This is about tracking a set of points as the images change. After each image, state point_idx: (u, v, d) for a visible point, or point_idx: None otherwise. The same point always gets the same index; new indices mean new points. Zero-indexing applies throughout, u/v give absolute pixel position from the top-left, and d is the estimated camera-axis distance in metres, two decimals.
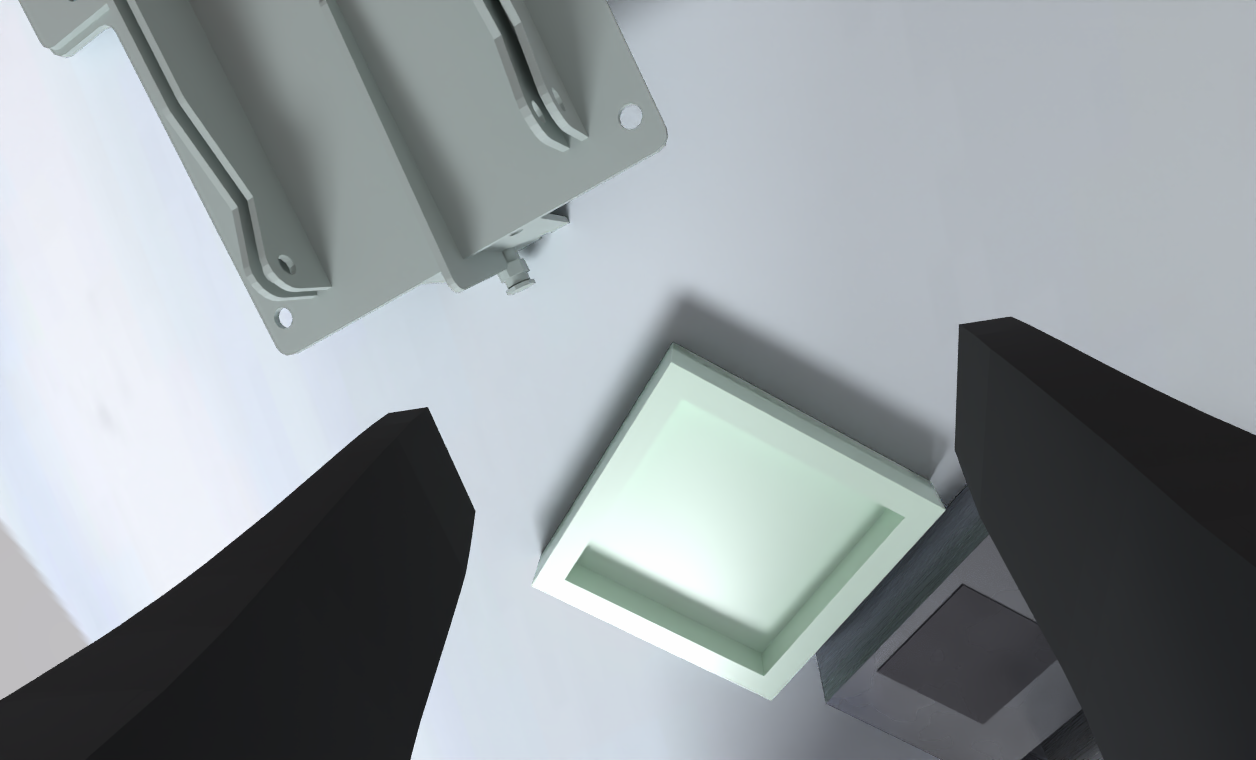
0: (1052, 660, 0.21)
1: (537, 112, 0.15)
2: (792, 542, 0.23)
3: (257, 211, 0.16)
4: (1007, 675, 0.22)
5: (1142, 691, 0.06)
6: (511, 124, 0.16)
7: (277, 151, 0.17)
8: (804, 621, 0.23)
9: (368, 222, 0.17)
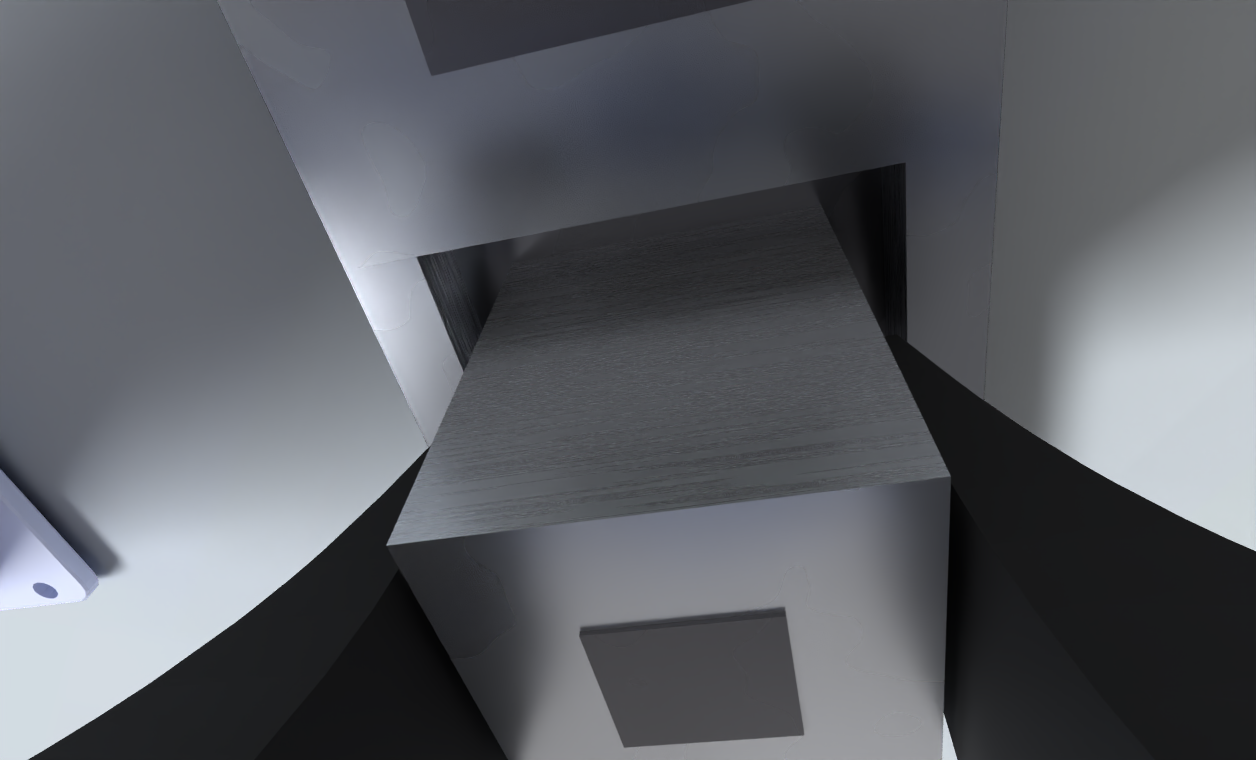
0: (717, 3, 0.07)
1: None
2: None
3: None
4: None
5: (974, 703, 0.06)
6: None
7: None
8: None
9: None
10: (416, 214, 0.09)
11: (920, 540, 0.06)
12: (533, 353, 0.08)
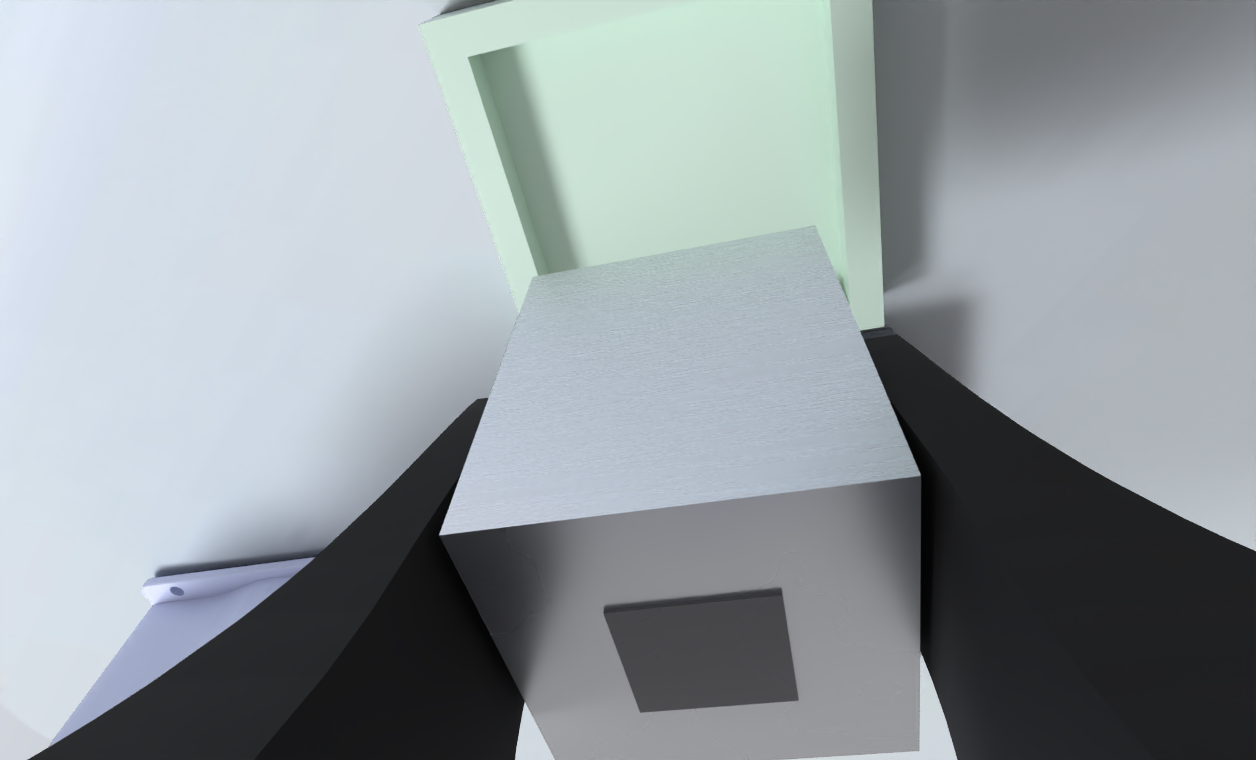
0: None
1: None
2: None
3: None
4: None
5: (974, 703, 0.06)
6: None
7: None
8: None
9: None
10: None
11: (896, 530, 0.06)
12: (558, 363, 0.09)
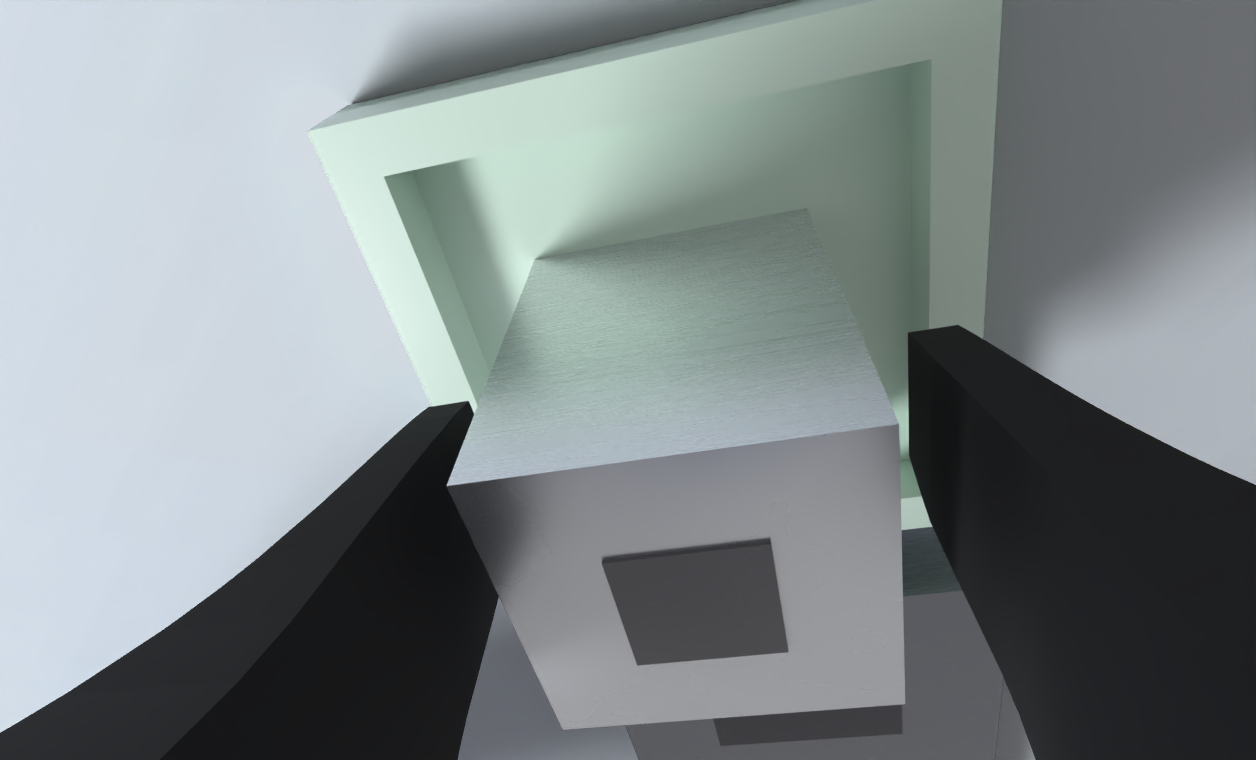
0: (862, 733, 0.16)
1: None
2: None
3: None
4: (807, 720, 0.16)
5: (1064, 697, 0.06)
6: None
7: None
8: None
9: None
10: None
11: (877, 478, 0.07)
12: (559, 334, 0.09)
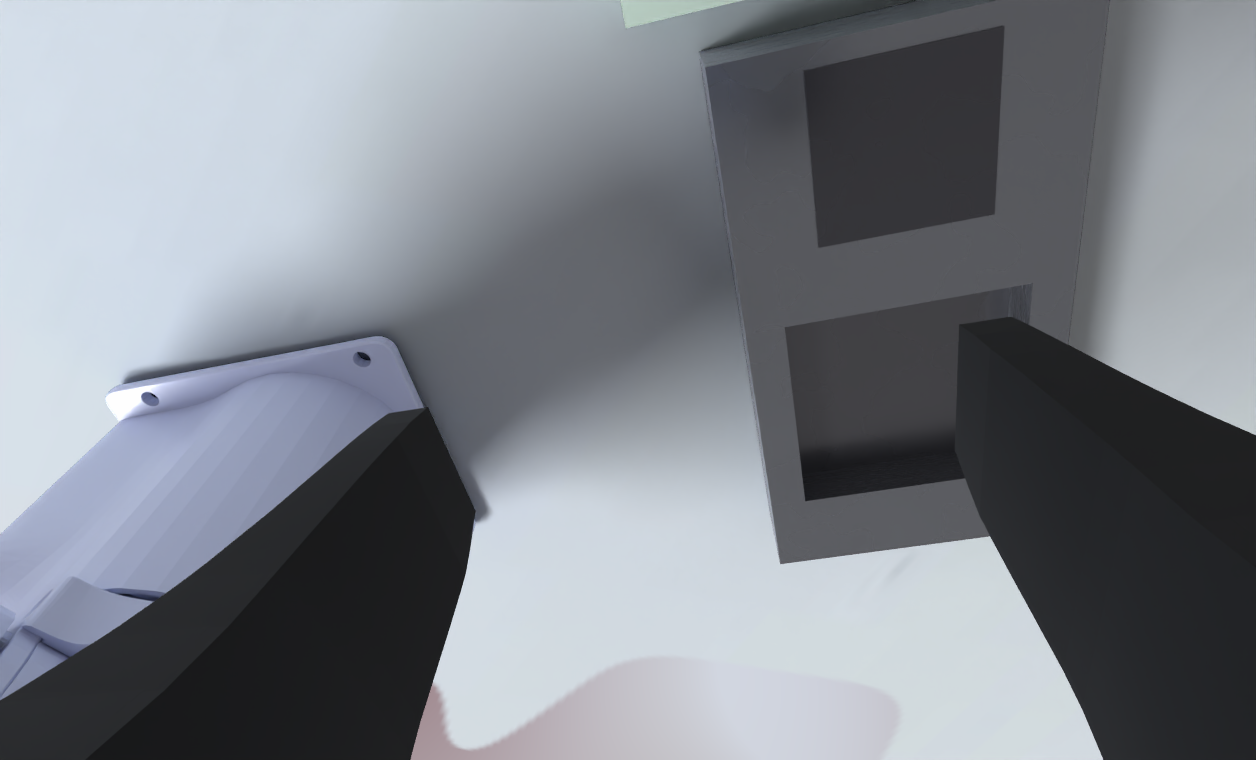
0: (956, 219, 0.17)
1: None
2: None
3: None
4: (905, 199, 0.16)
5: (1142, 691, 0.06)
6: None
7: None
8: None
9: None
10: (791, 307, 0.18)
11: None
12: None
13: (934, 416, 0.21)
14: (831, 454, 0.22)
